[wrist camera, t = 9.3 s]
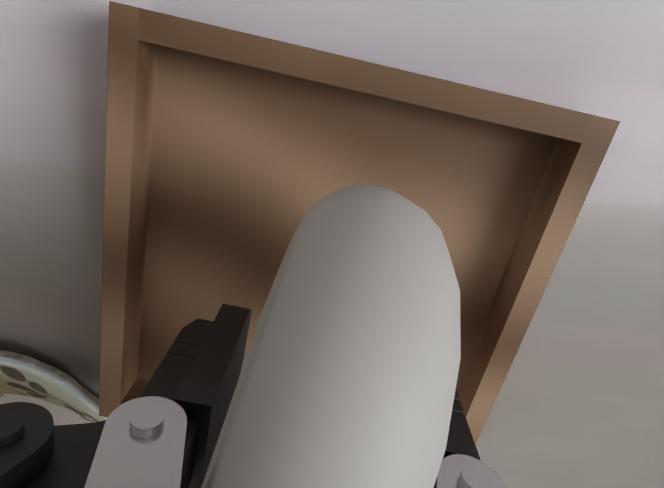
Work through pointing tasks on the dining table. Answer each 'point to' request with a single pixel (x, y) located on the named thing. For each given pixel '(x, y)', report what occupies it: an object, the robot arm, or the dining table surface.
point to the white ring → (349, 355)
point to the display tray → (316, 185)
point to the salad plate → (46, 385)
